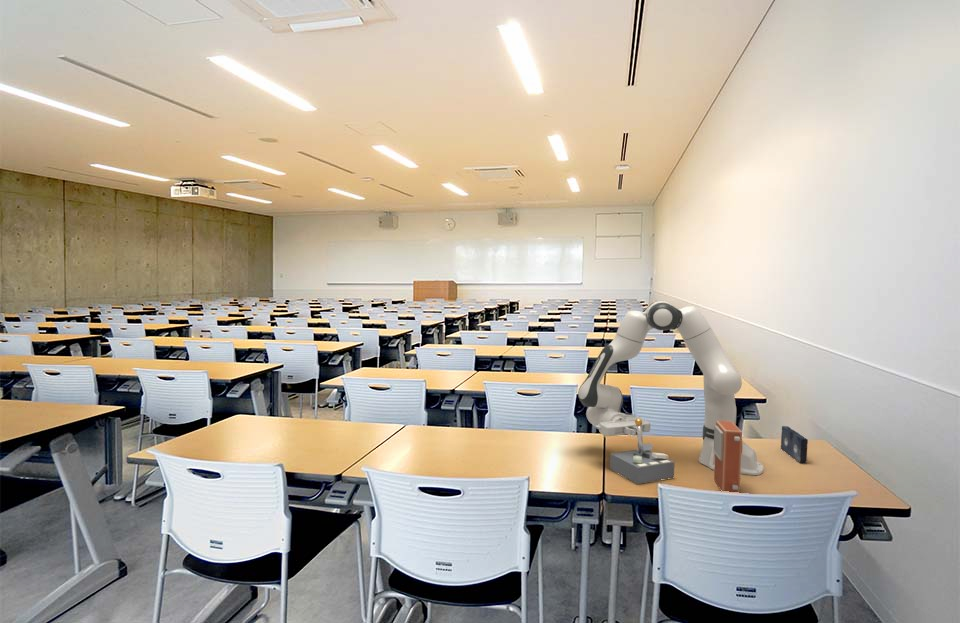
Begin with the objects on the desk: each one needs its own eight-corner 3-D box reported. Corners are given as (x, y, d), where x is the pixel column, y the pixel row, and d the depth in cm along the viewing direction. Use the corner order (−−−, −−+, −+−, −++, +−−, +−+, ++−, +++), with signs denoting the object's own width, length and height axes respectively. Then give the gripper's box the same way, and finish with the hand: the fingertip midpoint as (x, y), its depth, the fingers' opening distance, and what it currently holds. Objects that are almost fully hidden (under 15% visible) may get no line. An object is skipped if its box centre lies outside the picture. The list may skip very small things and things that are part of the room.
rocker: (651, 455, 193) (652, 452, 193) (662, 456, 195) (663, 453, 195) (656, 458, 190) (657, 454, 190) (667, 458, 192) (668, 455, 192)
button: (631, 461, 190) (631, 456, 190) (638, 460, 191) (638, 455, 191) (636, 464, 187) (637, 458, 187) (643, 463, 188) (643, 457, 188)
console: (609, 469, 199) (610, 449, 199) (644, 463, 205) (644, 444, 205) (637, 484, 185) (638, 463, 184) (673, 478, 191) (674, 457, 190)
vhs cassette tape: (806, 464, 206) (808, 439, 206) (798, 464, 207) (799, 438, 206) (788, 449, 224) (789, 426, 224) (780, 449, 225) (781, 425, 224)
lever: (636, 453, 195) (633, 418, 197) (641, 452, 196) (638, 418, 198) (640, 454, 193) (637, 419, 194) (646, 453, 194) (643, 418, 195)
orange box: (731, 479, 190) (743, 496, 175) (710, 478, 191) (720, 494, 177) (733, 420, 188) (745, 432, 174) (712, 419, 190) (722, 431, 175)
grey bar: (639, 451, 200) (637, 445, 201) (651, 449, 202) (649, 444, 203) (640, 451, 199) (639, 445, 200) (652, 449, 201) (651, 443, 202)
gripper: (592, 417, 205) (614, 427, 192) (636, 413, 212) (660, 422, 200) (592, 433, 205) (613, 444, 193) (636, 429, 213) (659, 438, 200)
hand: (637, 433), depth 196 cm, fingers closed, pressing on lever
